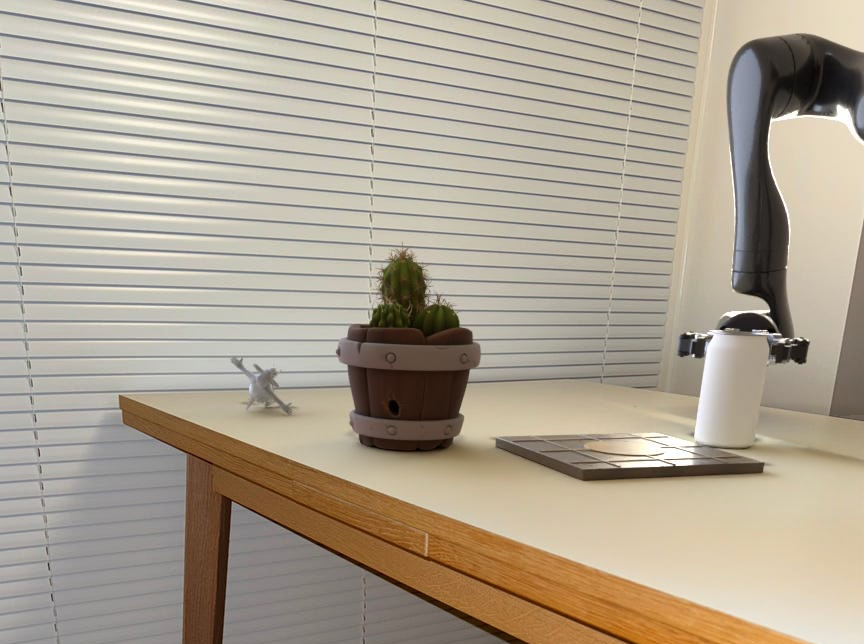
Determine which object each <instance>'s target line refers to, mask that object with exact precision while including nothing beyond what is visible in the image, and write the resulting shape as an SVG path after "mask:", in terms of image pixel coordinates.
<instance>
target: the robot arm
mask: <svg viewBox="0 0 864 644" xmlns="http://www.w3.org/2000/svg"><path fill="white" fill-rule="evenodd" d="M725 93H726V94H725V95H726V96H725V97H726V98H725V99H726V101H725V102H726V118H727V119H726V120H727V129H728V130H727V131H728V143H729V155H730V156H729V157H730V166H731V167H730V168H731V179H732V188H733V203H734V204H733V205H734V230H733V231H734V232H733V233H734V235H733V245H732V246H733V248H732V261H731V277H730V284H731V285H730V286H731V289H732V291H733V292H735V293H736V294H738V295H742V296H748V297H752V298H755V299H756V298H757V299H760V300H762V301H763V302H764V303H765V304H766V305H767V307H768V310H746V311H745V310H744V311H742V310H741V311H740V310H739V311H731V312H730V311H729V312H726V313H725V314H723V315H722V316H721V317H720V318H719V320H718V322H717V324H716V327H715V329H714V330H708V331H707V333H706V334H703V333H698V332H695V331H692V330H690V331H688V332H682V333H679V334H678V335H679V336H678V343H677V349H676V356H679V358H684V357H688V356H691V357H692V358H694V359H700V360H701V359H703V360H704V361H705V359H706V352H707V347H708V345H709V343H710V341H711V340H712V338H713V336H714V333H713V332H714V331H740V332H756V333H766V334H768V336H767V342H768V345H769V357H768V363H767V367H768V366H776V365H778V364H781V365H782V364H783V365H786V364H787V363H790V361H793V362H794V363H795V364H797V365H803V364H807V358H808V353H809V347H810V345H811V344H810V343H811V340H810V339H809V338H805V337H804V336H799V337H796V338H795V328H794V323H793V318H792V314H791V309H790V303H789V297H788V289H787V288H788V287H787V275H788V274H787V273H788V262H789V253H790V250H789V249H790V238H791V225H790V215H789V212H788V208H787V205H786V203H785V201H784V198H783V195H782V193H781V190H780V189H779V186H778V184H777V181H776V178H775V175H774V172H773V168H772V165H771V159H770V151H769V142H770V141H769V140H770V131H771V126H772V125H771V124H772V122H775V121H781V120H788V119H796V118H805V117H811V118H812V117H813V118H823V119H828V120H835V121H837V122H838V121H839V122H842V123H844V124H845V125H846V126H847V127H848V129H849V131H850V132H851V134H852V135H853V137H854V138H855V139H856V140H857V141H858V142H859V143H861V144H862V145H863V146H864V52H863V51H860V50H857V49H853V48H850V47H848V46H845V45H843V44H840V43H838V42H835V41H833V40H830V39H827V38H825V37H822V36H819V35H816V34H812V33H807V32H806V33H805V32H804V33H802V32H799V33H797V32H796V33H790V34H789V33H788V34H781V35H773V36H766V37H759V38H754V39H751V40H749V41H746V43H743V45H741V46H740V48H739V49H738V50H737V51H736V52H735V54H734V56H733V58H732V59H731V62H730V65H729V69H728V72H727V79H726V92H725Z"/></svg>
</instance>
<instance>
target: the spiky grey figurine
mask: <svg viewBox="0 0 864 644" xmlns="http://www.w3.org/2000/svg"><path fill="white" fill-rule="evenodd" d="M243 360H244V356H241V358H240V359H238V358H237V357H236V356H235V355H233V356H231V357H230V363H231V364H233V365H234V367H236V368H237V369H238V370H240V371H241V372H242V373H243V374H244V375H245V376H246V377H247V378H248V380H249V382H250V383H249V387H248V395H249V396H250V399H249V401H248V402H247V404H246V408H245V409H246V410H248V409H249V408H250V407H251V406H252V405H253V403H254V402H258V403H263V406H264V407H270V406H271V405H272V404H273V403H274V402H275V403H276V404H277V405H278V406H279V407H280V409H281V411H282V412H284V413H286V414H287V415H291V414H293V413H294V409H292V408H291V407H290V406H291V405H292V404H293V402H289V403H285V402H284V401H283V400H282V399H281V398H280V397H279V396H278V395H277V394H276V393H275V388H277V389H278V388H280V384H279V383H278V382H277V380H275V379H276V378H277V377H278V376H279V374H281V372H282V369H280V370H279V371H278V372H277V368H276V367H274V366H275V362H272V364H271V365H270V366H269V368H267V369H263V368H262V367H260V366H259V365H258V364H257V363H255V362H254V363H252V366H253V368H254V369H255V370H256V372H257V373H258V374H257V375H256V374H255V373H253V372H252V371H250V370H249V369H247V368H246V366H245V365H244V364H243Z"/></svg>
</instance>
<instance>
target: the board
mask: <svg viewBox="0 0 864 644" xmlns="http://www.w3.org/2000/svg"><path fill="white" fill-rule="evenodd" d="M494 445H495V447H497V448H499V449H502V450H505V451H507V452H509V453H511V454H515V455H517V456H520V457H523V458H525V459H526V460H527V459H528V460H531V461H533V462H535V463H538V464H541V465H542V466H545V467H548V468H551V469H552V470H555V471H559V472H561V473H562V474H565V475H568V476H571V477H574V478H575V479H579V480H581V481H597V480H598V481H599V480H618V479H619V480H621V479H643V478H644V479H645V478H664V477H665V478H666V477H689V476H711V475H713V476H714V475H729V474H730V475H734V474H757V473H759V474H761V473H764V469H765V461H761V460H758V459H754V458H750V457H746V456H743V455H739V454H735V453H733V452H732V453H731V452H729V451H725V450H721V449H719V448H718V449H717V448H715V447H710V446H705V445H701V444H698V443H696V442H692V441H689V440H684V439H680V438H678V437H677V438H676V437H673V436H670V435H666V434H662V433H658V432H625V433H624V432H623V433H590V434H589V433H588V434H582V433H581V434H553V435H552V434H551V435H550V434H548V435H512V436H511V435H509V436H506V435H505V436H496V437H495V443H494Z"/></svg>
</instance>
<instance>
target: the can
mask: <svg viewBox="0 0 864 644" xmlns="http://www.w3.org/2000/svg"><path fill="white" fill-rule="evenodd" d="M713 331H714V332H713V333H714V336H713V338H712V340H711V341H710V343H709V345H708V347H707V352H706V359H705V360H704V365H703V373H702V380H701V387H700V394H699V400H698V405H697V407H698V408H697V414H696V419H695V420H696V421H695V428H694V436H693V440H694V441H695V443H696V444H699V445H703V446H707V447H710V448H716V449H717V448H718V449H731V450H733V449H734V450H735V449H737V450H738V449H740V450H741V449H748V448H751V446H752V445H754V443H755V439H756V434H757V430H758V429H757V428H758V422H759V416H760V411H761V405H762V399H763V393H764V387H765V380H766V374H767V369H768V366H767V363H768V357H769V345H768V342H767V336H768V334H766V333H756V332H740V331H715V330H713Z"/></svg>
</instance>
